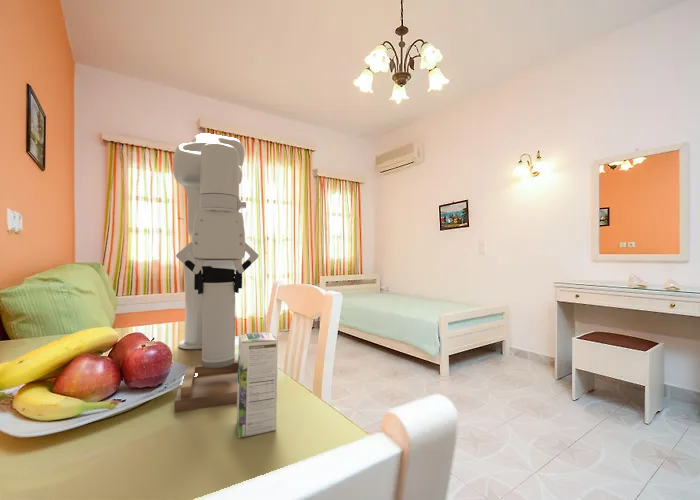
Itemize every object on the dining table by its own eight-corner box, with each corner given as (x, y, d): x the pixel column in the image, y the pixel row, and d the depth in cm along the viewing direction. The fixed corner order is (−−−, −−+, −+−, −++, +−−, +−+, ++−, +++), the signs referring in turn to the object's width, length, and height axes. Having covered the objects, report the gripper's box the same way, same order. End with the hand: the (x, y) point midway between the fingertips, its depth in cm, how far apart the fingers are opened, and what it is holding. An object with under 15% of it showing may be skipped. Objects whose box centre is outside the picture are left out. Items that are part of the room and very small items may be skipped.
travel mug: (193, 366, 65) (193, 266, 65) (220, 357, 71) (220, 265, 71) (215, 371, 62) (215, 266, 62) (241, 361, 68) (241, 265, 68)
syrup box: (235, 421, 54) (236, 334, 54) (271, 414, 56) (272, 331, 57) (238, 439, 49) (239, 342, 49) (278, 430, 51) (278, 338, 52)
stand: (182, 383, 70) (183, 365, 70) (250, 375, 75) (250, 358, 75) (174, 412, 57) (174, 390, 57) (256, 399, 62) (256, 379, 62)
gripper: (260, 210, 74) (260, 289, 73) (174, 206, 67) (173, 292, 67) (264, 205, 67) (264, 293, 66) (169, 200, 60) (168, 296, 60)
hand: (218, 292), depth 67 cm, fingers closed on travel mug, 6 cm apart
